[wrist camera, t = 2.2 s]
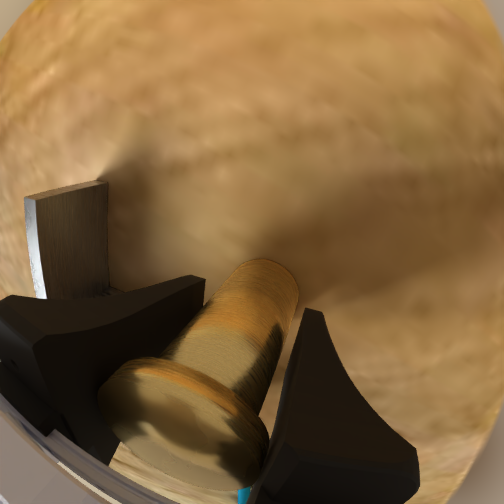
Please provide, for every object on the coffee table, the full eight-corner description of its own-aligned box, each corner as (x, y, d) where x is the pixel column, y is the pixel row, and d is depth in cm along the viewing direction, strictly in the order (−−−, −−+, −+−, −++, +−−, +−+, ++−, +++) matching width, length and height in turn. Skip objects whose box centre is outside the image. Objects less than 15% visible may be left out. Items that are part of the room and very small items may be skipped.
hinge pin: (298, 342, 13) (245, 503, 6) (214, 317, 14) (113, 446, 6) (321, 261, 11) (279, 433, 4) (225, 236, 12) (82, 348, 5)
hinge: (239, 423, 16) (213, 480, 12) (76, 347, 19) (38, 379, 15) (285, 219, 11) (252, 259, 7) (57, 174, 14) (-5, 189, 10)
